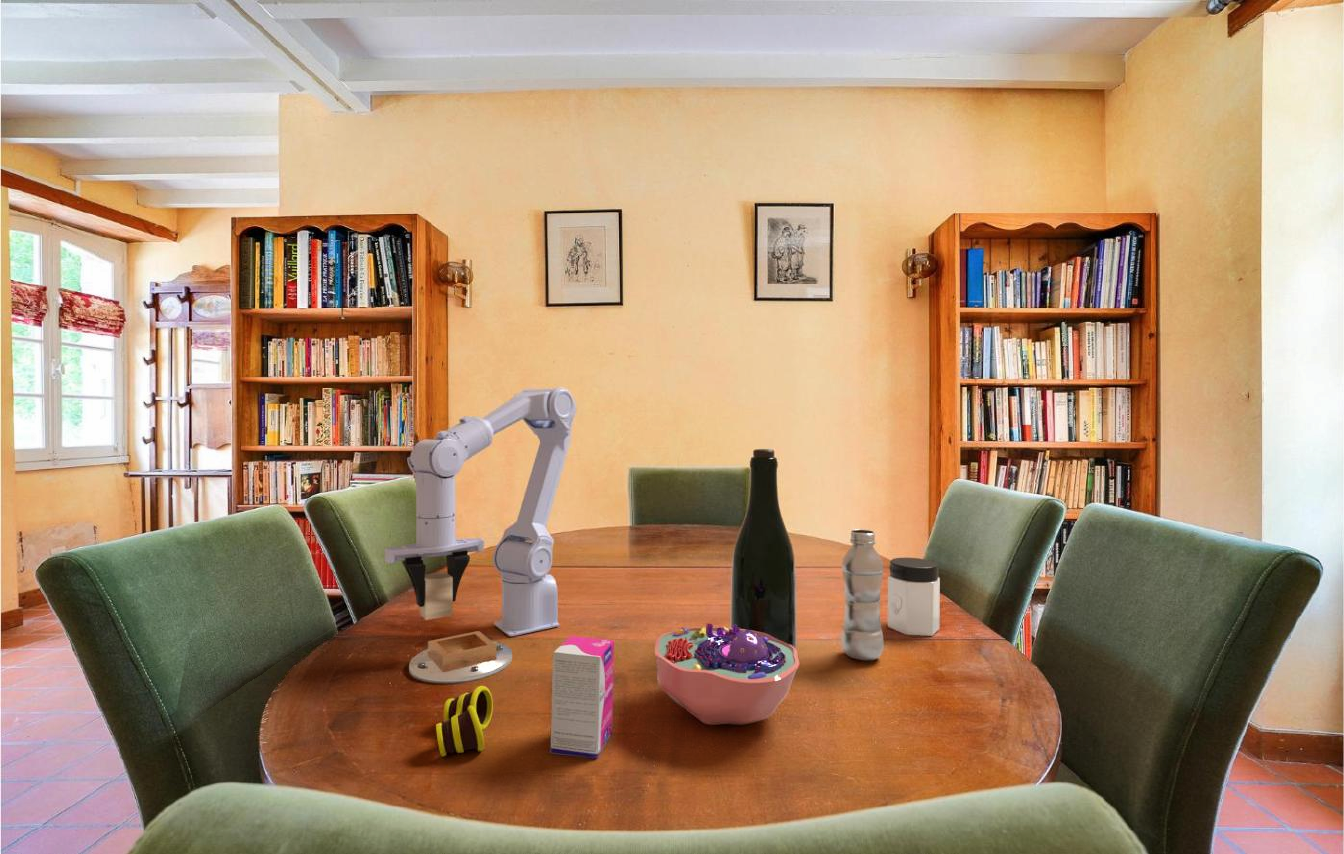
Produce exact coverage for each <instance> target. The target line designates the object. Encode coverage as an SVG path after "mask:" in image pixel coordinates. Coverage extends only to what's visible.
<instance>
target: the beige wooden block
mask: <svg viewBox="0 0 1344 854" xmlns="http://www.w3.org/2000/svg"><path fill="white" fill-rule="evenodd" d="M424 591H425V605H424V606H423V607H418V608H419V609H418V611H419V614H420V616H421V617H422V618H424V620H425V621H428V620H434V619H440V618H446V617H450V616H451V617H452V616H454V615H453V614H454V613H453V612H454V611H453V608H454V606H453V605H454V601H453V577H452V576H451V575H449V574H448V573H447V571H442V572H436V573H435V572H434V573H428V574H427V573H426V574H425V580H424Z"/></svg>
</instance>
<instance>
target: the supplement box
mask: <svg viewBox="0 0 1344 854" xmlns="http://www.w3.org/2000/svg"><path fill="white" fill-rule="evenodd" d="M614 656H615V640H613V639H605V638H593V637H584V636H576V635H575V636H573V635H570V637H568V639H566V640H565V641H564V642H563V643H562V644H561V645H560V646H559V647H557V648H556V649H555V651H553V652H552V676H551V679H552V681H551V682H552V683H551V684H552V685H551V719H550V720H551V727H550V729H551V730H550V750H549V751H550V752H549V753H550V754H553V755H563V756H570V757H571V756H572V757H579V758H586V759H587V758H588V759H594V758H595V759H598V757H599V756H600V753H601V752H602V750H603V748H604V746H605V745H606V743H607V742H608V740H609V739H610V738H611V735H612V734H613V711H614V710H613V706H614V704H613V702H614V699H613V697H614V667H615V666H614V665H615V657H614Z"/></svg>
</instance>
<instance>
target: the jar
mask: <svg viewBox="0 0 1344 854" xmlns="http://www.w3.org/2000/svg"><path fill="white" fill-rule="evenodd" d="M940 580H941V579H940V577H939V564H938V563H937V562H935V561H934V560H933V561H932V560H931V559H925V558H920V557H919V558H918V557H895V558H892V559H891V560H890V561H889V575H888V576H887V627H888V628H890V629H892V630H893V631H897V632H898V633H902V634H903V635H906V636H918V635H919V637H920V636H921V637H926V636H927V637H933V636H934V635H936V634H937V632H938V631H939V630H940V610H941V609H940V607H941V606H940V605H941V604H940V603H941V602H940V600H941V599H940V597H941V596H940V593H941V592H940V589H941V587H940V586H941V585H940V584H941V583H940V582H941V581H940Z"/></svg>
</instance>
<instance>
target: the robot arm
mask: <svg viewBox="0 0 1344 854" xmlns="http://www.w3.org/2000/svg"><path fill="white" fill-rule="evenodd" d="M577 409H578V407H577V405H576V402H575V399H574V397H573V394H572V393H571V392H570V390H568V388H566V387H557V388H538V389H536V388H535V389H534V388H527V389H523V390H522V391H520V392H517V393H514V395H513V397H512V398H510V399H509V400H508V401H506V402H504V403H503V404H501V405H500V406H498V407H496V408H495V409H493V411H491V412H489V413H488V414H487V415H485V416H484V417H482V418H481V417H478V416H469V415H468V416H467V415H466V416H462V417H460V418H459V419H458V421H459V423H458V424H456V425H454V426H452V427H451V428H449V429H446V430H440V431H438V432H436V436H435V438H434V439H422V440H420V441H419V442H417V443H416V444H415V445H414V447H413V448H412V450H411V452H410V456H409V457H407V458H406V459H407V465H408V468H409V469H410V471H411V472H412V473H413V476H414V483H415V486H416V487H415V495H416V496H415V497H416V499H415V502H416V503H415V509H416V510H415V513H416V514H415V516H416V517H415V518H416V520H415V521H416V522H415V523H416V526H415V528H416V529H415V531H416V532H415V533H416V534H415V535H416V537H415V538H416V539H415V540H416V541H415V542H416V543H411V544H407V545H406V544H405V545H400V546H395V547H394V546H393V547H389V548H388V547H386V548H384V562H385V563H386V564H394V563H395V562H402V564H403V567H404V569H405V570H406V573H407V575H408V577H409V579H410V582H411V585H412V588H413V590H414V595H415V599H416V605H417V606H419V607H423V606H424V605H425V591H424V580H425V575H426V567H427V565H426V564H424V560H422V559H426V558H434V557H443V556H445V560H446V573H448V574H449V575H451V576H452V577H453V602H456V600H457V595H458V593H457V592H458V590H459V586H460V583H461V580H462V578H463V574H464V573H465V571H466V569H467V567H468V566H469V564H470V559H471V556H470V555H468V554H469V553H482V552H485V539H483V538H481V537H477V538H465V539H464V538H461V539H460V538H459V539H456V475H457V474H459V473H460V472H461V470H462V468H463V466H464V463H465V462H466V461H468V460H469V459H471V458H472V457H474V456H476V455H477V454H479V453H480V452H482V451H483V450H485V449H487V448H488V447H490V446H491V445H492V443H493V437H494V435H496V434H498V433H500V432H502V431H503V430H505V429H507V428H509V427H511V426H513V425H514V424H517V423H518V422H520V421H521V420H523V422H524V423H525V425H527V426H528V428H529V429H530V430H531V431H532V432H533V434H534V435H536V436H537V438H538V440H539V445H538V449H537V452H536V456H535V458H534V462H533V466H532V469H531V473H530V476H529V478H528V482H527V485H526V488H525V492H524V495H523V499H522V503H521V505H520V509H519V512H518V515H517V519H516V521H515V522H514V523H512V524H511V525H509V527H507V528H506V529H505V530H504V531H503V535H502V537H501V539H500V541H499V542H498V543H497V544H496V547H495V548H494V551H493V554H492V563H493V566H494V568H495V569H496V570H497V571H498V572H499V578H500V579H501V578H502V579H501V583H502V584H501V589H502V590H501V594H502V595H501V602H502V603H501V615H502V616H501V620H498V621H494V623H493V624H494V626H496V627H497V628H498V630H501V631H502V632H503V633H504V634H505V635H507V636H508V637H514V636H520V635H526V634H528V633H529V634H530V633H534V632H537V631H544V630H548V629H551V628H556V627H560V623H559V622H558V619H559V618H558V611H559V610H558V608H559V607H558V605H559V604H558V603H559V602H558V594H559V593H558V586H557V582H556V581H557V580H556V579H555V577H554V576H553V575H552V574H548V573H549V572H550V570H551V568H552V564H553V547H554V543H555V540H554V538H553V537H552V535H551V534H550V532H549V531H548V529H547V526H548V522H549V519H550V516H551V512H552V509H553V506H554V505H553V504H554V502H555V497H556V494H557V490H558V486H559V483H560V479H561V476H562V472H563V469H564V466H565V462H566V460H567V454H568V451H569V447H570V444H571V441H572V427H573V424H574V420H575V417H576V413H577ZM529 541H531V542H529ZM419 607H418V608H419Z"/></svg>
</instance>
